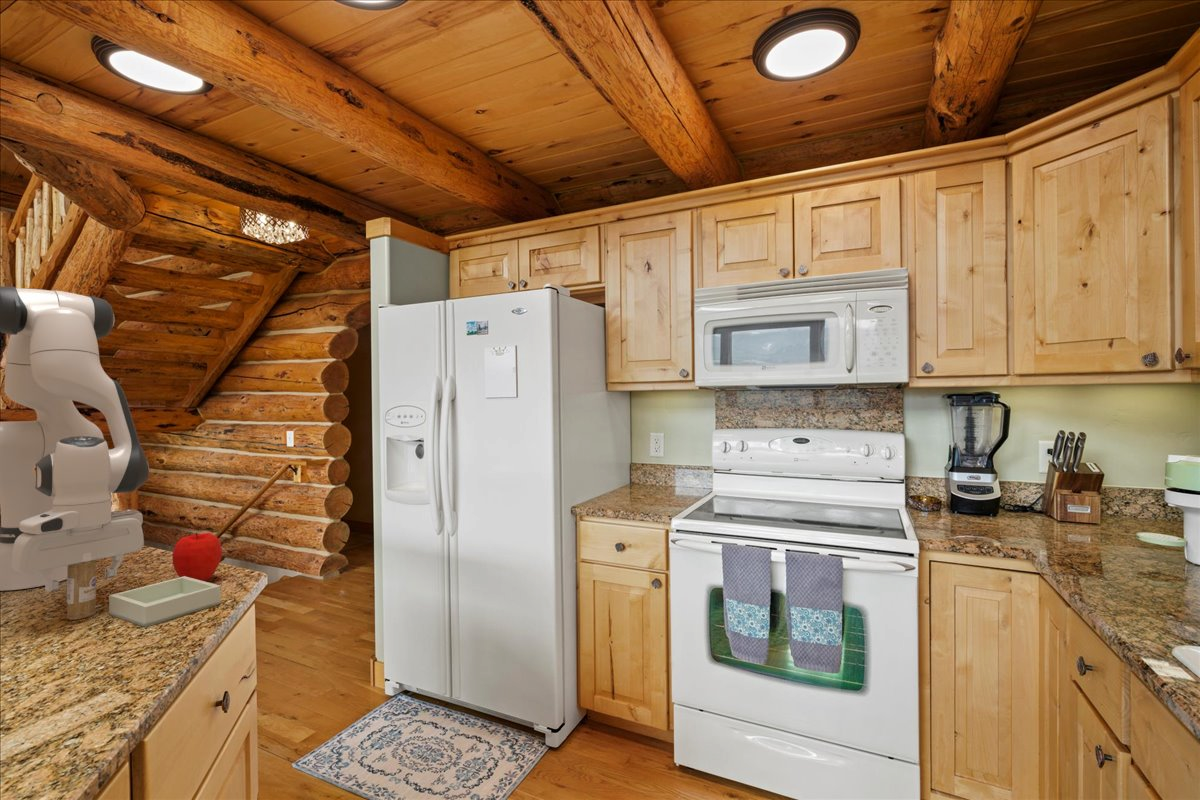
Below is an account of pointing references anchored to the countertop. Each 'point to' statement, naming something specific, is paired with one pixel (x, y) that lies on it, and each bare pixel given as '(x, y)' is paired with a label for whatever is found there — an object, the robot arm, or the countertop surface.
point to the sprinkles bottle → (81, 588)
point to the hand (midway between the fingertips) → (82, 583)
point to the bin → (164, 601)
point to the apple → (197, 556)
